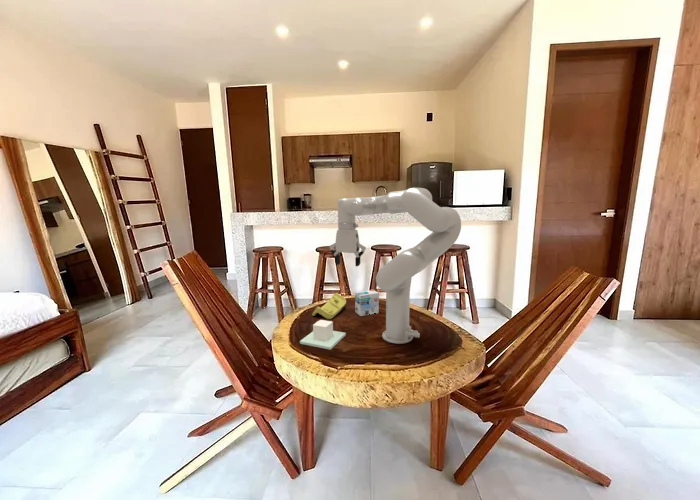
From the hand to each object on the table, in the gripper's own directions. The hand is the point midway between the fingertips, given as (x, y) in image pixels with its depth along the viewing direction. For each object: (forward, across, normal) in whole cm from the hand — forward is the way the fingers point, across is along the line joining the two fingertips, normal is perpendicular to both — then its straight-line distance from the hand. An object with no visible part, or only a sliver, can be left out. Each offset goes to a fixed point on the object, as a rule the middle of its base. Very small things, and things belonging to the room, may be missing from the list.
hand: (347, 265), depth 136 cm
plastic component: (+29, +16, -12) cm, 35 cm away
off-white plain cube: (+27, +4, +17) cm, 32 cm away
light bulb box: (+29, -2, -18) cm, 34 cm away
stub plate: (+28, +4, +17) cm, 33 cm away
